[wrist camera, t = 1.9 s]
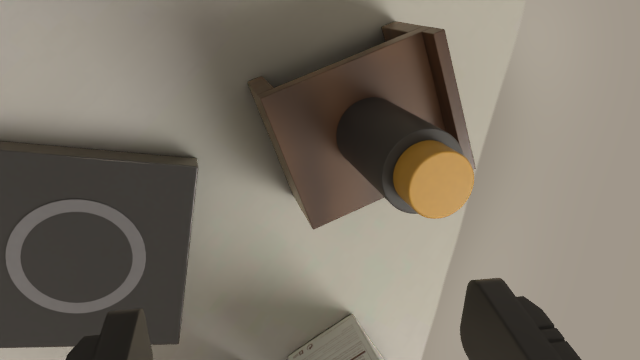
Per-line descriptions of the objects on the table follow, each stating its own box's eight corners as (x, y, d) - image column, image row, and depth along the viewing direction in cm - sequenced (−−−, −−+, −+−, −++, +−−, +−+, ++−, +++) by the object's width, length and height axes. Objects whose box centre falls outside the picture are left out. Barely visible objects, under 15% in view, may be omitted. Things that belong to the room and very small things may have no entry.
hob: (-40, 136, 33) (-53, 146, 31) (196, 157, 38) (198, 167, 36) (-32, 332, 38) (-42, 350, 36) (178, 329, 42) (178, 345, 41)
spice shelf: (294, 197, 41) (319, 240, 34) (246, 81, 37) (264, 104, 30) (426, 138, 42) (476, 168, 36) (395, 21, 38) (444, 29, 31)
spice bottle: (321, 131, 33) (378, 186, 24) (377, 81, 33) (454, 118, 24) (364, 180, 35) (430, 247, 26) (416, 133, 35) (501, 185, 26)
